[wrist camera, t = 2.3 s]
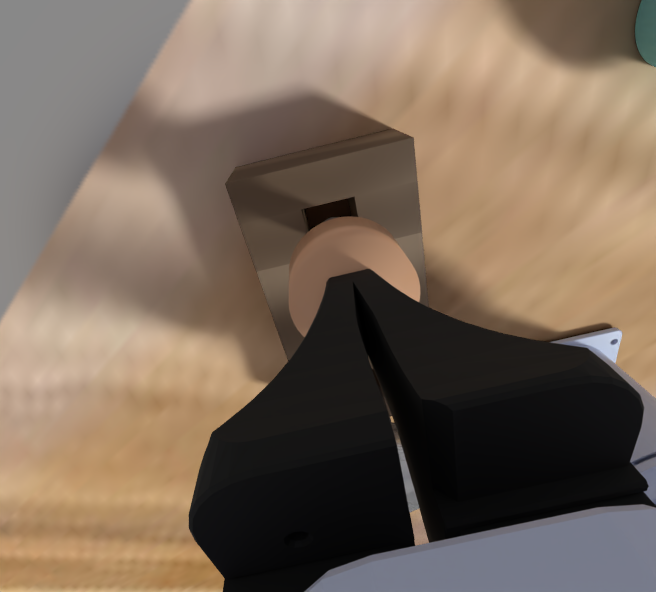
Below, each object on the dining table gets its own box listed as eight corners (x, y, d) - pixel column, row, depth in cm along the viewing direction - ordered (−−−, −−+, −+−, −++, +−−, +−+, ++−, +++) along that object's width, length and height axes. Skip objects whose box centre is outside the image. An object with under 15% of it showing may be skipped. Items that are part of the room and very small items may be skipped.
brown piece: (420, 368, 26) (437, 405, 23) (311, 393, 26) (313, 433, 23) (392, 128, 18) (413, 137, 15) (235, 167, 18) (225, 184, 15)
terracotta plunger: (384, 261, 17) (425, 338, 12) (301, 281, 17) (306, 365, 12) (371, 176, 15) (414, 224, 10) (277, 199, 15) (272, 258, 10)
